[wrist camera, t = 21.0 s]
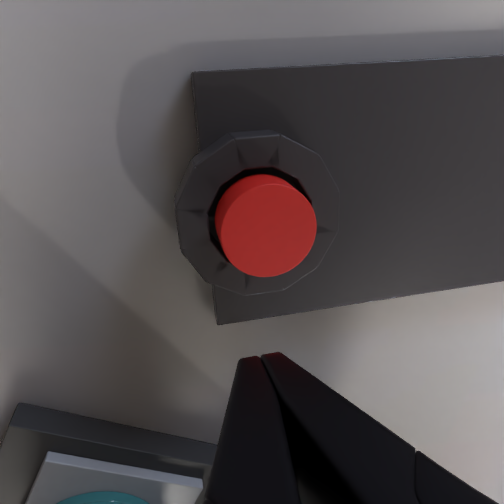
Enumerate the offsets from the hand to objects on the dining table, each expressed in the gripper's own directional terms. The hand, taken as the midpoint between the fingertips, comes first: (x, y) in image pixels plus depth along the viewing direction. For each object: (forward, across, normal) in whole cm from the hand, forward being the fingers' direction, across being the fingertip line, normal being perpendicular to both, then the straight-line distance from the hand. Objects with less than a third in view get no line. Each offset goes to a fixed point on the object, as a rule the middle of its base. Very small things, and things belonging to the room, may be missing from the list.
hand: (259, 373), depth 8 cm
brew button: (+9, -2, 0) cm, 9 cm away
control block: (+11, -9, 0) cm, 14 cm away
